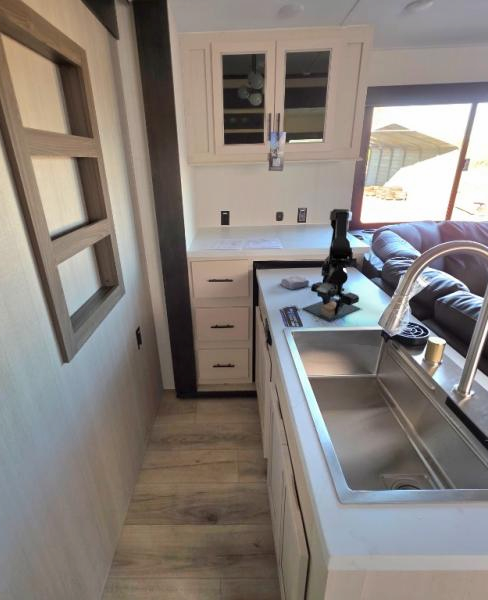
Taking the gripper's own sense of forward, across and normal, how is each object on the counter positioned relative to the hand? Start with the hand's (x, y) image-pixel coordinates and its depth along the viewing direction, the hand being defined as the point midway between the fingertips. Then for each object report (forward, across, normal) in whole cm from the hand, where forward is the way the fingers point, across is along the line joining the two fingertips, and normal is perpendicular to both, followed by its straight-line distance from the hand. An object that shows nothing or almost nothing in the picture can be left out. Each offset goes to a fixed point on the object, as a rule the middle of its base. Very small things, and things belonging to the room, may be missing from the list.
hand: (331, 312), depth 127 cm
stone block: (+2, -32, +13) cm, 35 cm away
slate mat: (+1, -4, +5) cm, 6 cm away
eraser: (+1, 0, 0) cm, 1 cm away
